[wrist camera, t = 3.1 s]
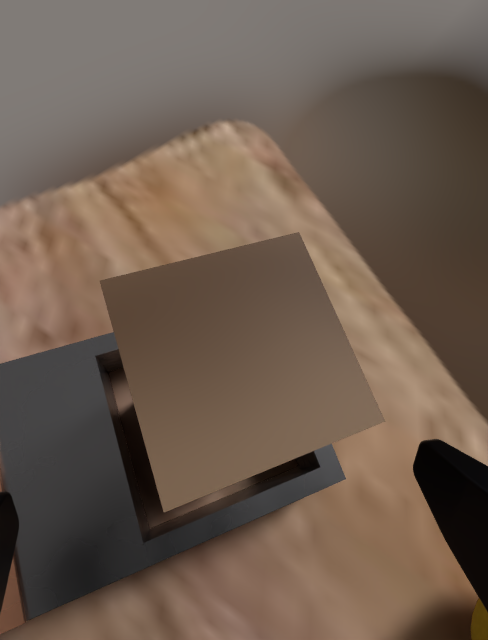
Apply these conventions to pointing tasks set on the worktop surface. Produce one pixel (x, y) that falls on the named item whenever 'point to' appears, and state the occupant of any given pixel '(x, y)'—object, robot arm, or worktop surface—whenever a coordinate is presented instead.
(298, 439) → the peg
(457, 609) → the worktop surface
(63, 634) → the worktop surface
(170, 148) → the worktop surface
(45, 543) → the rail
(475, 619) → the lemon
